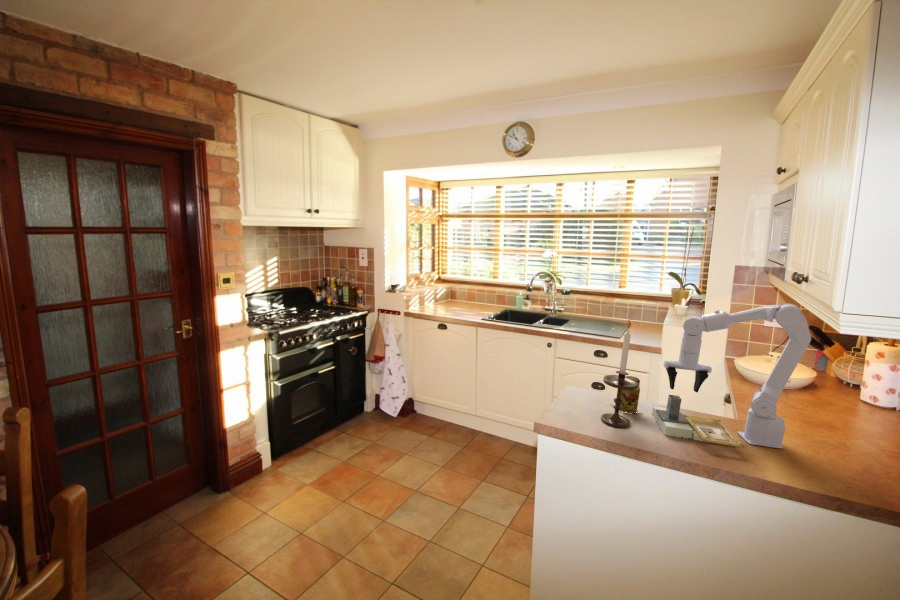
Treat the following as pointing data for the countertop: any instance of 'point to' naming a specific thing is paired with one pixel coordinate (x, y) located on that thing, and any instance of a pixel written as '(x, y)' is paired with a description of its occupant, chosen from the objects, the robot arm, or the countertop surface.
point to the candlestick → (620, 387)
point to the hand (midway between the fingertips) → (683, 389)
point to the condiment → (630, 399)
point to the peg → (672, 411)
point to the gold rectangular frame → (709, 421)
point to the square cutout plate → (672, 426)
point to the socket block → (714, 430)
